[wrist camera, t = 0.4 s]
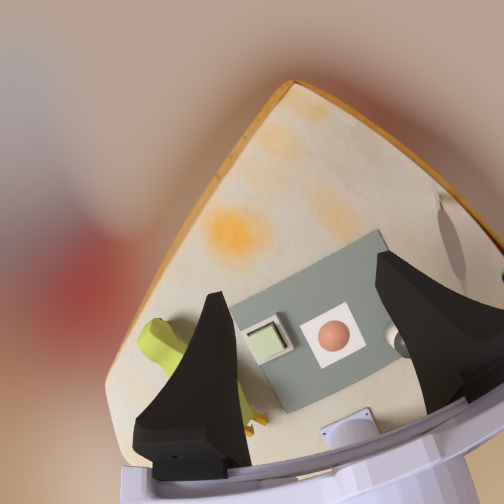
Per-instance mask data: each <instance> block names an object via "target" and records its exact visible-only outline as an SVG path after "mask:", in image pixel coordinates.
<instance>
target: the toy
mask: <svg viewBox="0 0 504 504" xmlns="http://www.w3.org/2000/svg"><path fill="white" fill-rule="evenodd" d="M138 346H139V348H140V350H141V351H142V353H143V354H144V355H145V356H146V357H147V358H148V359H150V360H151V361H153V362H156V363H158V364H159V365H160V366H162V368H163V369H164V371H165V372H166V374H167V376H168V378H169V379H170V377H171V376H172V374H173V372H174V371H175V369H176V368H177V366H178V364H179V363H180V361H181V359H182V357H183V355H184V353H185V351H186V349H187V347H186V346H184V345H183V344H182V343H180V341H179V340H178V339H177V337H176V336H175V334H174V332H173V330H172V327H171V326H170V324H169V323H168V322H167V321H164V320H162V319H161V318H154V319H153V320H151V321H150V322H148V323H147V324H146V325H145V327H144V328H143V330H142V332H141V334H140V335H139V337H138ZM237 380H238V379H237ZM238 393H239V400H240V406H241V412H242V418H243V424H244V430H245V435H247V436H249V437H251V436H252V435H254V429H253V425H251V427H249V426H246V425H247V424H248V423H249V421H250V419H252V420H254V421H256V422H258V423H260V424H262V425H264V426H265V425H266V424H267V423H268V422H269V421H268V417H267V414H266V413H265V415H262V414H260V413H258V412H257V411H255V410H254V409H253V408H251V407H250V406H249V404H248V403H247V400H246V398H245V395H244V392H243V390H242V387H241V385H240V382H239V381H238Z"/></svg>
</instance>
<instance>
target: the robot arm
mask: <svg viewBox="0 0 504 504" xmlns="http://www.w3.org/2000/svg"><path fill="white" fill-rule="evenodd" d="M375 287H376V290H377V292H378V295H379V297H380V299H381V301H382V304H383V305H384V307H385V309H386V311H387V312H388V314H389V316H390V318H391V319H392V321H393V323H394V325H395V326H396V328H397V330H398V332H399V333H400V335H401V337H402V339H403V341H404V343H405V345H406V347H407V350H408V352H409V355H410V357H411V360H412V362H413V365H414V368H415V371H416V374H417V377H418V380H419V383H420V387H421V390H422V394H423V398H424V402H425V406H426V411H427V416H425V417H422V418H420V419H418V420H416V421H413V422H411V423H408V424H406V425H404V426H401V427H399V428H396V429H394V430H391V431H388V432H386V433H383V434H380V433H379V431H378V429H377V426H376V424H375V422H374V420H373V418H372V415H371V413H370V411H369V409H368V408H365V409H363V410H361V411H359V412H357V413H355V414H353V415H351V416H348V417H346V418H344V419H342V420H340V421H338V422H335V423H333V424H331V425H329V426H326V427H324V428H322V429H321V430H320V433H321V435H322V437H323V438H324V440H325V442H326V444H327V445H328V447H329V449H330V450H329V451H326V452H322V453H318V454H314V455H309V456H305V457H301V458H296V459H291V460H286V461H281V462H275V463H269V464H263V465H257V466H252V464H251V459H250V455H249V450H248V445H247V440H246V435H245V430H244V424H243V418H242V412H241V406H240V400H239V393H238V380H237V350H236V337H235V330H234V323H233V320H232V317H231V314H230V312H229V309H228V307H227V304H226V301H225V299H224V296H223V294H222V291H220V292H216V293H211V294H208V295H207V297H206V301H205V304H204V307H203V310H202V313H201V316H200V319H199V321H198V324H197V326H196V329H195V332H194V334H193V336H192V338H191V341H190V343H189V345H188V347H187V349H186V351H185V353H184V355H183V357H182V359H181V361H180V363H179V364H178V366H177V368H176V369H175V371H174V372H173V374H172V376H171V377H170V379H169V380H168V382H167V383H166V384H165V386H164V387H163V388H162V390H161V391H160V392H159V394H158V395H157V396H156V397H155V399H154V400H153V401H152V402H151V403H150V405H149V406H148V407H147V408H146V409H145V410H144V411H143V412H142V413H141V414H140V415H139V416H138V417H137V418H136V421H135V426H134V433H133V446H132V448H133V450H134V451H135V452H136V453H138V454H139V455H141V456H143V457H144V458H146V459H148V460H150V461H152V462H153V468H149V467H138V466H122V471H121V497H120V499H121V500H120V504H480V502H479V499H478V496H477V492H476V489H475V486H474V483H473V480H472V478H471V475H470V472H469V469H468V466H467V464H466V461H465V458H464V455H466V454H468V453H469V452H471V451H473V450H474V449H476V448H477V447H479V446H481V445H482V444H484V443H485V442H487V441H488V440H490V439H491V438H492V437H494V436H495V435H497V434H498V433H500V432H501V431H502V430H504V310H503V309H499V308H495V307H491V306H488V305H485V304H482V303H480V302H477V301H474V300H472V299H470V298H467V297H465V296H463V295H460V294H458V293H456V292H454V291H452V290H450V289H448V288H447V287H445V286H443V285H441V284H440V283H438V282H436V281H435V280H433V279H431V278H430V277H428V276H427V275H425V274H423V273H422V272H420V271H419V270H417V269H416V268H414V267H413V266H412V265H410V264H409V263H407V262H406V261H404V260H403V259H401V258H400V257H398V256H397V255H396V254H394V253H393V252H391V251H389V250H388V251H384V252H380V253H377V266H376V278H375ZM366 413H368V414H367V415H366ZM323 433H326V434H323ZM330 468H331V469H332V471H330V472H327V473H324V474H320V475H317V476H314V477H310V478H306V479H303V480H299V481H298V478H296V476H301V475H306V474H310V473H314V472H319V471H323V470H327V469H330ZM291 477H293V478H291Z"/></svg>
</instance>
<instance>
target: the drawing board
mask: <svg viewBox="0 0 504 504" xmlns="http://www.w3.org/2000/svg"><path fill="white" fill-rule="evenodd" d="M384 251H388V249H387V247H386V245H385V243H384V241H383V239H382V238H381V236H380V234H379V232H378V230H375V231H373V232H371V233H370V234H368V235H366V236H364V237H363V238H361V239H359V240H357V241H355V242H354V243H352V244H350V245H348V246H346V247H345V248H343V249H341V250H339V251H337V252H335V253H334V254H332V255H330V256H328V257H326V258H324V259H322V260H321V261H319V262H317V263H315V264H313V265H311V266H309V267H308V268H306V269H304V270H302V271H300V272H298V273H296V274H294V275H292V276H291V277H289V278H287V279H285V280H283V281H281V282H279V283H277V284H275V285H273V286H271V287H269V288H267V289H265V290H264V291H262V292H260V293H258V294H256V295H254V296H252V297H250V298H248V299H246V300H244V301H242V302H240V303H238V304H236V305H234V306H232V307H230V308H229V310H230V311H231V313H232V315H233V317H234V319H235V321H236V323H237V325H238V327H239V329H240V330H241V331H240V333H241V334H242V336H243V338H244V340H245V342H246V344H247V346H248V347H249V349H250V351H251V353H252V355H253V357H254V359H255V360H256V362H257V364H258V365H259V366H260V367H261V369H262V371H263V373H264V375H265V376H266V378H267V380H268V382H269V384H270V385H271V387H272V389H273V391H274V392H275V394H276V396H277V398H278V400H279V401H280V403H281V405H282V406H283V408H284V410H285V412H286V413H287V414H288V413H291V412H293V411H296V410H298V409H300V408H303V407H305V406H307V405H310V404H312V403H314V402H316V401H319V400H321V399H323V398H325V397H327V396H329V395H332V394H334V393H336V392H338V391H340V390H342V389H344V388H346V387H348V386H350V385H352V384H354V383H356V382H358V381H360V380H362V379H363V378H365V377H367V376H369V375H371V374H373V373H375V372H376V371H378V370H380V369H382V368H384V367H385V366H387V365H389V364H390V363H392V362H394V361H396V360H397V359H399V358H401V357H402V356H401V355H400V354H399V353H398V352H397V351H396V350H395V349H394V348H393V347H392V346H391V345H390V344H389V343H387V342H386V341H385V339H384V335H383V332H384V329H385V326H386V325H387V324H388V323H389V322H390V321H392V319H391V318H390V316H389V314H388V312H387V311H386V309H385V307H384V305H383V304H382V301H381V299H380V297H379V295H378V292H377V290H376V287H375V278H376V266H377V253H380V252H384ZM271 323H274V325H275V327H276V329H277V331H278V333H279V334H280V336H281V338H282V340H283V342H284V344H285V346H284V350H282V351H280V352H278V353H275V354H273V355H271V356H269V357H267V358H265V359H262V360H259V358H258V356H257V354H256V352H255V351H254V349H253V347H252V345H251V343H250V341H249V339H248V336H249V335H250V333H252V332H254V331H256V330H258V329H261V328H263V327H265V326H267V325H269V324H271Z"/></svg>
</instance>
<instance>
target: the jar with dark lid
mask: <svg viewBox="0 0 504 504" xmlns="http://www.w3.org/2000/svg"><path fill="white" fill-rule="evenodd" d="M383 335H384V339H385V341H386V342H387V343H389V344H390V345H391V346H392V347H393V348H394V349H395V350H396V351H397V352H398V353H399V354H400V355H401V356H402V357H404V358H411V357H410V355H409V352H408V350H407V347H406V345H405V343H404V341H403V339H402V337H401V335H400V333H399V332H398V330H397V328H396V326H395V325H394V323H393V321H390V322H389V323H388V324H387V325H386V326H385V329H384V332H383Z"/></svg>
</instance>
